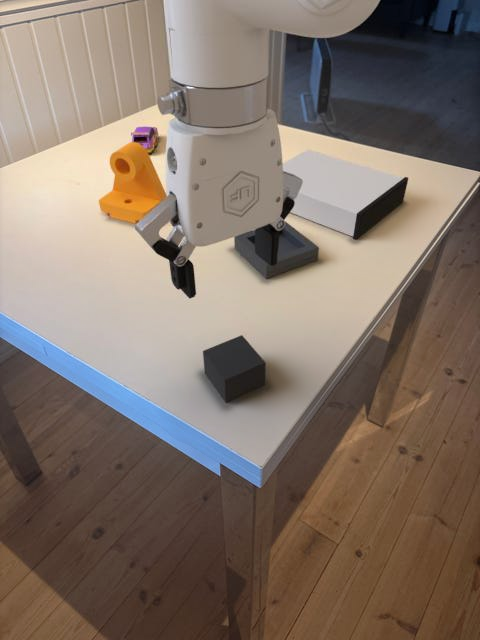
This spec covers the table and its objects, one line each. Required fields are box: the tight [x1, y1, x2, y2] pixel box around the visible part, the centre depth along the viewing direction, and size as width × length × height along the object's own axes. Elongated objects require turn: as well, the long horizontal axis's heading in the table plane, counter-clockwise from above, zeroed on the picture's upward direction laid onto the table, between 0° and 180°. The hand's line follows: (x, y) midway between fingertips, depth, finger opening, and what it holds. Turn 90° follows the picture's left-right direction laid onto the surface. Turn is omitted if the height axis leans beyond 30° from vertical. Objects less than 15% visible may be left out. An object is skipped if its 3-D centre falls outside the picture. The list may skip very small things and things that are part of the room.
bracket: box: [98, 141, 167, 225], centre depth 88 cm, size 11×7×12 cm, turn 65°
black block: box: [202, 334, 266, 403], centre depth 59 cm, size 6×6×4 cm
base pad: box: [233, 221, 320, 280], centre depth 80 cm, size 10×10×2 cm
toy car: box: [130, 126, 159, 154], centre depth 115 cm, size 6×12×5 cm, turn 179°
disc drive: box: [282, 149, 409, 241], centre depth 93 cm, size 18×22×5 cm
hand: (227, 274), depth 50 cm, fingers open, 9 cm apart
